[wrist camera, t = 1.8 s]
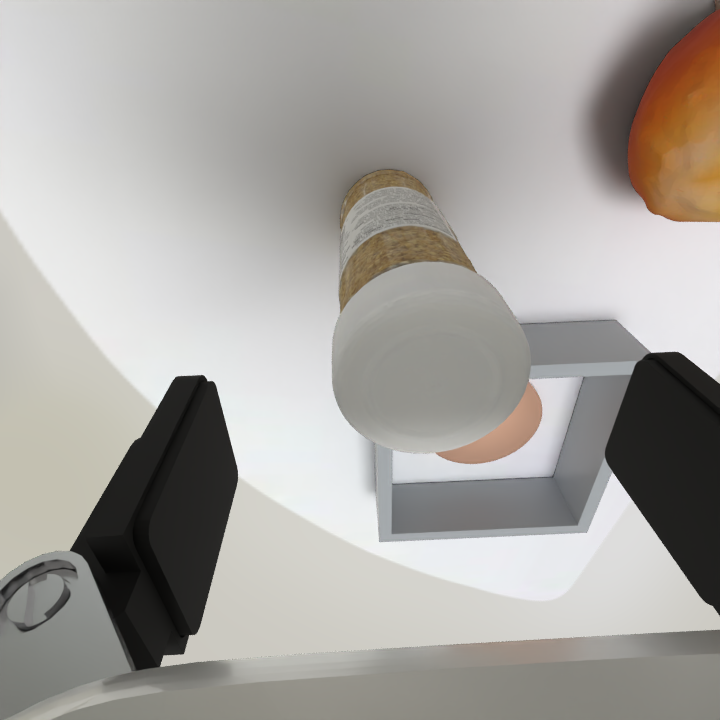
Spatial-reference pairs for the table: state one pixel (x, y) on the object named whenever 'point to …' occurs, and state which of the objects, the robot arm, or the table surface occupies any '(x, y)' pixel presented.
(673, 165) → the fruit
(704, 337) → the table surface
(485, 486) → the grey square tray
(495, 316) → the sprinkles bottle
